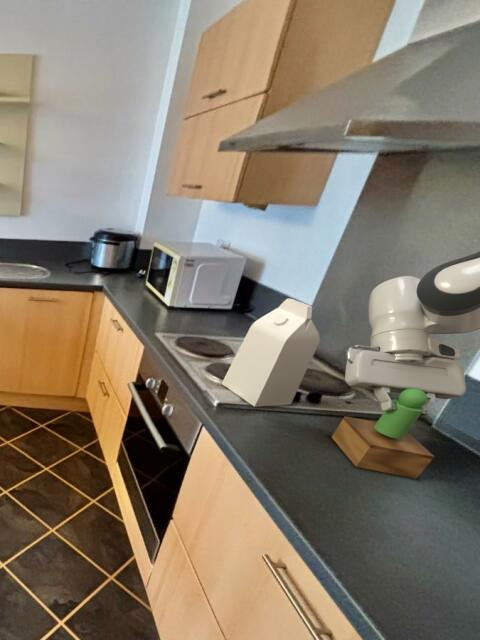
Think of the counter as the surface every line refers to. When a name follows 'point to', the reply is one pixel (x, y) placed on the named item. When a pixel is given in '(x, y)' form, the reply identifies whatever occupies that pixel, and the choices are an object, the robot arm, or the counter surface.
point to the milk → (274, 356)
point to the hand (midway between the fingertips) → (406, 412)
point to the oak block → (380, 449)
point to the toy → (402, 414)
